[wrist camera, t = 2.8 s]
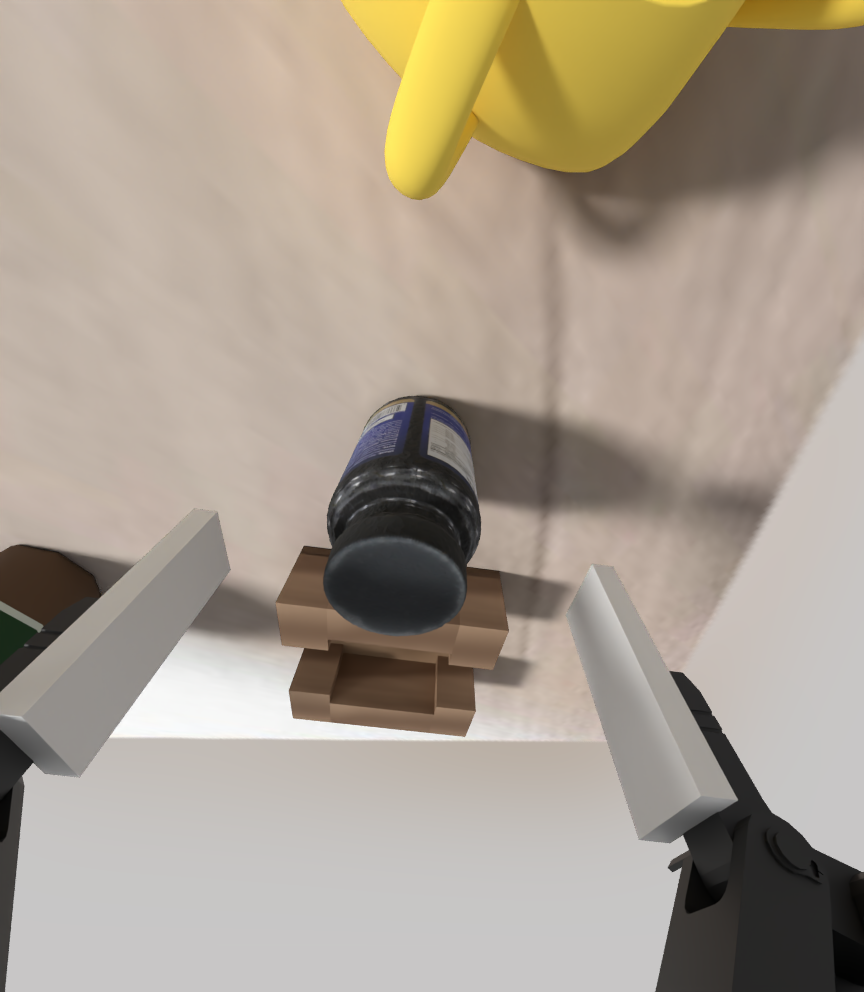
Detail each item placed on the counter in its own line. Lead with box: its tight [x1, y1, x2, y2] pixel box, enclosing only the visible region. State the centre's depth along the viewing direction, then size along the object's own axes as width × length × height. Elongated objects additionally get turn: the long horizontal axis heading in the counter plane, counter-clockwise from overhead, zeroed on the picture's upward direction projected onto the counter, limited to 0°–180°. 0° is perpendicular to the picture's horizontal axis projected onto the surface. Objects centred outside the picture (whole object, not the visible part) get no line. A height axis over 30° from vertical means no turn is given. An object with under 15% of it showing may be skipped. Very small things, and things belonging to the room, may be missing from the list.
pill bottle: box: [323, 396, 481, 636], centre depth 16 cm, size 6×6×11 cm
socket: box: [276, 546, 509, 737], centre depth 27 cm, size 14×14×5 cm
